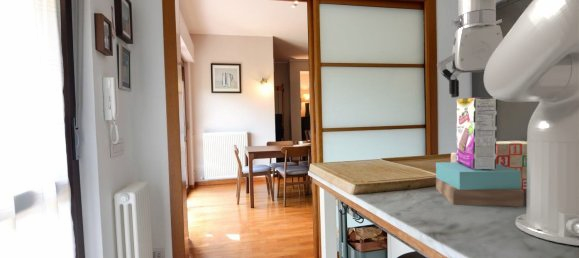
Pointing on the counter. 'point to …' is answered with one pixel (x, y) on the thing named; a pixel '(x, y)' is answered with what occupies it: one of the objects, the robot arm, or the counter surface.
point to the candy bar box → (476, 133)
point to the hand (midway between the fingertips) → (477, 96)
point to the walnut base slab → (481, 196)
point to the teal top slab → (478, 177)
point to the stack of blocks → (510, 157)
